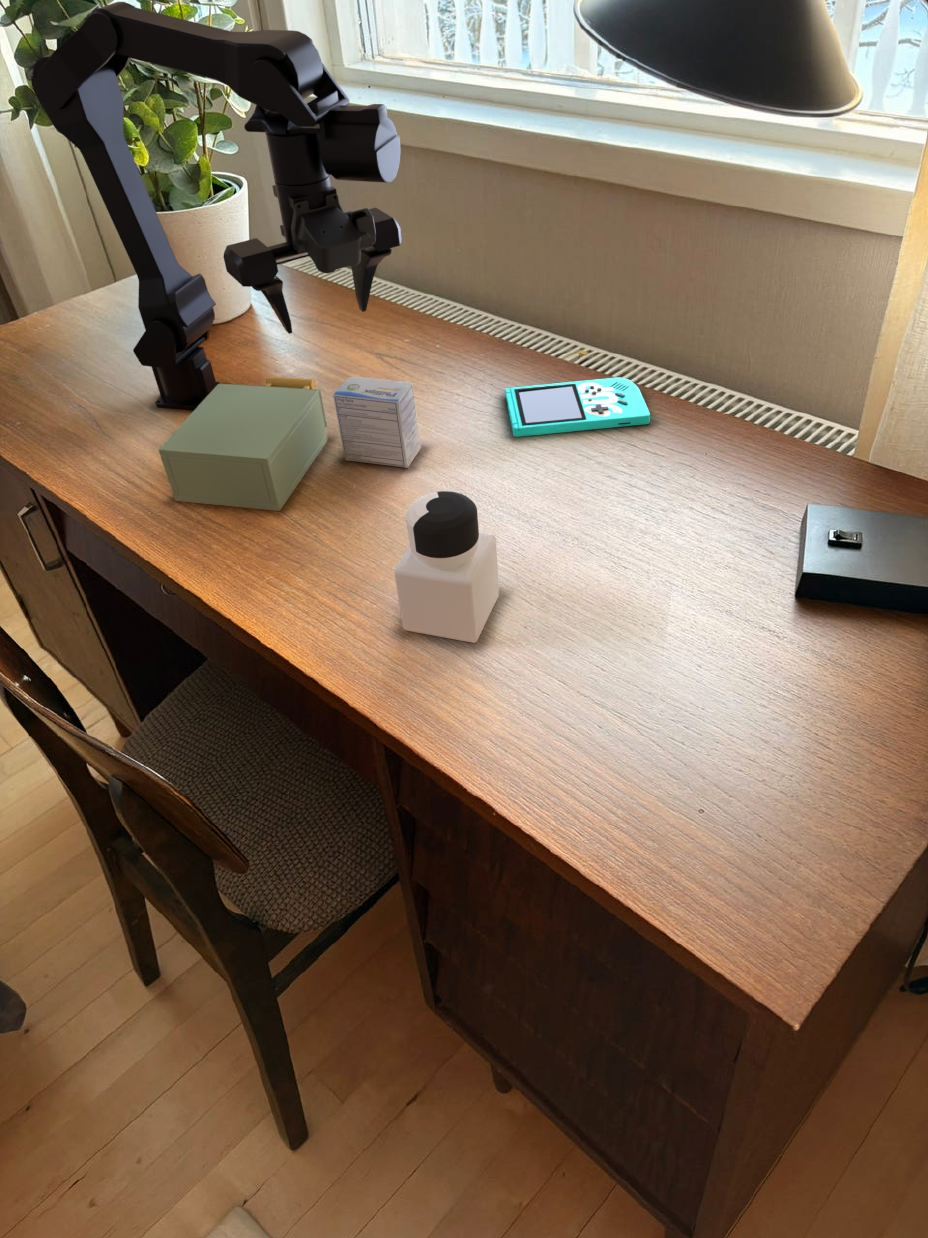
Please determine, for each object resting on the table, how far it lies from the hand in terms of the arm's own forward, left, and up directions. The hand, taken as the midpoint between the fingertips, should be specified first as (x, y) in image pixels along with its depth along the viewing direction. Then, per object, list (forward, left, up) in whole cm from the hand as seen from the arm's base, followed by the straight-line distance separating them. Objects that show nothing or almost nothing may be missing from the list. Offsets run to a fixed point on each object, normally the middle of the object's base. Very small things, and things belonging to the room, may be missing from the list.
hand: (326, 321), depth 108 cm
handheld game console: (+28, +5, -12) cm, 31 cm away
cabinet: (-6, -13, -12) cm, 19 cm away
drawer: (-6, -8, -11) cm, 15 cm away
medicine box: (+8, -8, -12) cm, 17 cm away
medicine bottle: (+23, -33, -12) cm, 42 cm away
